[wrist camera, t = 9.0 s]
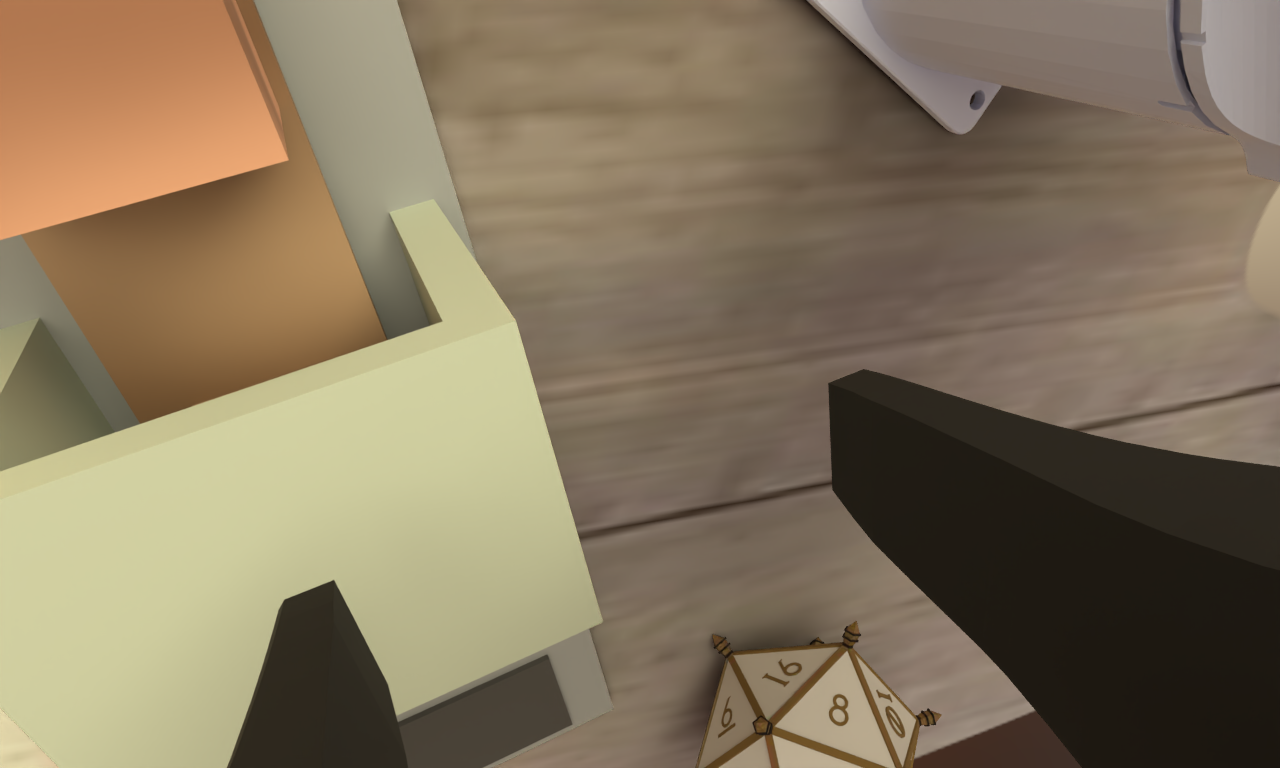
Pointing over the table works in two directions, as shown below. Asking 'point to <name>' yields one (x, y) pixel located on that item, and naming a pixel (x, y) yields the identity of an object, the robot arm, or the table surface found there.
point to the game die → (807, 711)
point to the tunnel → (279, 526)
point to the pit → (487, 720)
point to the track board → (363, 196)
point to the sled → (173, 196)
